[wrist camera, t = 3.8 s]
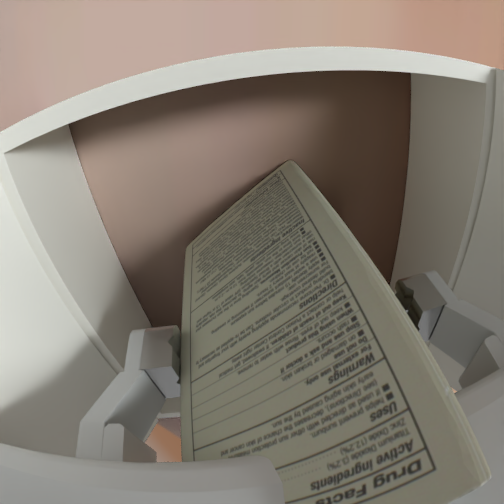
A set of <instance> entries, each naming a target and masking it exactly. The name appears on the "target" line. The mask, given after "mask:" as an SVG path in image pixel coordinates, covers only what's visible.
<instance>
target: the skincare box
mask: <svg viewBox="0 0 504 504" xmlns="http://www.w3.org/2000/svg"><path fill="white" fill-rule="evenodd" d="M180 402H181V407H180V415H181V450H182V451H181V452H182V462H188V461H204V460H216V459H226V458H235V457H243V456H251V455H258V456H264V457H266V458H268V459H269V460H270V461H271V462H272V464H273V466H274V468H275V470H276V472H277V474H278V475H279V477H280V479H281V481H282V483H283V491H284V499H285V504H449V503H451V502H453V501H455V500H457V499H459V498H461V497H463V496H464V495H466V494H468V493H470V492H472V491H474V490H476V489H478V488H480V487H481V486H483V485H484V484H485V483H486V482H487V481H489V480H490V479H491V471H490V468H489V466H488V464H487V461H486V459H485V456H484V454H483V452H482V450H481V447H480V445H479V443H478V441H477V439H476V436H475V434H474V432H473V430H472V428H471V426H470V424H469V422H468V420H467V418H466V416H465V414H464V412H463V410H462V408H461V406H460V404H459V402H458V400H457V398H456V396H455V394H454V392H453V391H452V389H451V387H450V385H449V383H448V381H447V380H446V378H445V376H444V374H443V372H442V371H441V369H440V367H439V365H438V364H437V362H436V360H435V359H434V357H433V355H432V353H431V352H430V350H429V348H428V347H427V345H426V343H425V342H424V340H423V338H422V337H421V335H420V334H419V332H418V330H417V329H416V327H415V325H414V324H413V322H412V321H411V319H410V317H409V316H408V314H407V313H406V311H405V309H404V308H403V306H402V305H401V303H400V301H399V300H398V298H397V297H396V295H395V294H394V292H393V291H392V289H391V288H390V286H389V285H388V283H387V282H386V280H385V279H384V277H383V276H382V274H381V273H380V272H379V270H378V269H377V267H376V266H375V264H374V263H373V262H372V260H371V259H370V257H369V256H368V255H367V253H366V252H365V250H364V249H363V248H362V246H361V245H360V244H359V242H358V241H357V239H356V238H355V237H354V235H353V234H352V232H351V231H350V230H349V228H348V227H347V225H346V224H345V223H344V222H343V220H342V219H341V218H340V216H339V215H338V214H337V212H336V211H335V210H334V209H333V207H332V206H331V205H330V203H329V202H328V201H327V200H326V198H325V197H324V196H323V195H322V193H321V192H320V191H319V190H318V189H317V187H316V186H315V185H314V184H313V182H312V181H311V180H310V179H309V178H308V176H307V175H306V174H305V173H304V172H303V171H302V169H301V168H300V167H299V166H298V165H297V164H296V163H295V162H294V161H292V160H290V161H287V162H285V163H284V164H283V165H281V166H280V167H279V168H277V169H276V170H275V171H274V172H272V173H271V174H270V175H269V176H267V177H266V178H265V179H263V180H262V181H261V182H260V183H259V184H257V185H256V186H255V187H254V188H253V189H251V190H250V191H249V192H248V193H246V194H245V195H244V196H243V197H242V198H241V199H240V200H238V201H237V202H236V203H235V204H234V205H232V206H231V207H230V208H229V209H228V210H227V211H225V212H224V213H223V214H222V215H221V216H220V217H218V218H217V219H216V220H215V221H214V222H213V223H212V224H210V225H209V226H208V227H207V228H206V229H205V230H204V231H203V232H202V233H201V234H200V235H199V236H198V237H197V238H195V239H194V240H193V241H192V242H191V243H190V244H189V245H188V246H187V248H186V253H185V268H184V286H183V305H182V330H181V381H180Z"/></svg>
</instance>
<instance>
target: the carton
mask: <svg viewBox="0 0 504 504" xmlns="http://www.w3.org/2000/svg"><path fill="white" fill-rule="evenodd" d="M330 70H372V71H395V72H409V73H411V123H410V144H409V159H408V171H407V181H406V191H405V199H404V207H403V214H402V221H401V228H400V234H399V240H398V246H397V252H396V257H395V263H394V268H393V273H392V278H391V282H390V288H391V289H392V291H393V292H394V294H396V293H397V292H396V290H395V284H396V282H397V281H398V280H399V279H402V278H406V277H410V276H413V275H417V274H422V273H424V272H428V271H432V270H435V271H436V272H437V273H438V274H439V275H440V276H441V278H442V279H443V280H444V281H445V283H446V284H447V285H448V287H449V288H450V289H451V290H452V292H453V293H454V294H455V296H456V297H457V298H458V300H461V299H463V300H464V301H466V302H468V303H470V304H472V305H474V306H476V307H478V308H480V309H482V310H484V311H486V312H488V313H490V314H492V315H494V316H495V317H497V318H499V319H501V320H503V321H504V70H500V69H497V68H493V67H489V66H486V65H482V64H478V63H473V62H469V61H465V60H460V59H455V58H450V57H445V56H439V55H433V54H426V53H419V52H412V51H403V50H393V49H382V48H366V47H298V48H282V49H270V50H260V51H251V52H243V53H235V54H229V55H222V56H216V57H210V58H205V59H200V60H195V61H190V62H185V63H180V64H176V65H172V66H168V67H164V68H160V69H156V70H152V71H148V72H145V73H141V74H138V75H134V76H131V77H128V78H124V79H121V80H118V81H115V82H112V83H109V84H106V85H103V86H100V87H98V88H95V89H92V90H90V91H87V92H84V93H82V94H79V95H77V96H74V97H72V98H69V99H67V100H64V101H62V102H60V103H57V104H55V105H53V106H51V107H49V108H46V109H44V110H42V111H40V112H38V113H36V114H34V115H32V116H30V117H28V118H26V119H24V120H22V121H20V122H18V123H16V124H14V125H12V126H10V127H9V128H7V129H5V130H3V131H1V132H0V442H1V443H4V444H8V445H12V446H16V447H20V448H25V449H29V450H34V451H39V452H44V453H50V454H56V455H62V456H69V457H76V450H77V442H78V434H79V427H80V421H81V420H82V419H83V417H84V416H85V415H86V414H87V412H88V411H89V410H90V409H91V407H92V406H93V405H94V404H95V402H96V401H97V400H98V399H99V397H100V396H101V395H102V394H103V392H104V391H105V390H106V389H107V387H108V386H109V385H110V384H111V382H112V381H113V380H114V379H115V377H116V376H117V375H118V374H119V373H120V372H124V367H125V361H126V354H127V348H128V342H129V336H130V333H131V332H132V330H138V329H146V328H153V327H152V325H151V324H150V322H149V320H148V318H147V316H146V314H145V312H144V310H143V309H142V307H141V305H140V303H139V301H138V299H137V297H136V295H135V293H134V291H133V289H132V287H131V285H130V283H129V281H128V278H127V276H126V274H125V272H124V270H123V268H122V266H121V264H120V261H119V259H118V257H117V255H116V253H115V250H114V248H113V246H112V244H111V241H110V239H109V237H108V234H107V232H106V230H105V227H104V225H103V222H102V220H101V217H100V215H99V212H98V210H97V207H96V205H95V202H94V200H93V197H92V194H91V192H90V189H89V186H88V184H87V181H86V178H85V175H84V172H83V169H82V167H81V164H80V161H79V158H78V155H77V152H76V148H75V145H74V142H73V139H72V136H71V132H70V129H69V126H68V124H69V123H72V122H74V121H77V120H79V119H82V118H85V117H88V116H90V115H93V114H96V113H99V112H102V111H105V110H108V109H111V108H114V107H117V106H120V105H124V104H127V103H130V102H134V101H137V100H141V99H144V98H148V97H152V96H155V95H159V94H163V93H167V92H171V91H176V90H180V89H185V88H189V87H194V86H199V85H204V84H209V83H215V82H220V81H226V80H233V79H239V78H246V77H254V76H262V75H271V74H281V73H293V72H307V71H330ZM425 343H426V345H427V347H428V348H429V350H430V352H431V353H432V355H433V357H434V359H435V360H436V362H437V364H438V365H439V367H440V369H441V371H442V372H443V374H444V376H445V378H446V380H447V381H448V383H449V385H450V387H452V388H453V389H455V390H456V391H457V392H458V391H460V390H462V387H461V385H460V383H459V378H460V376H461V375H462V373H463V372H464V370H465V369H466V368H464V367H463V366H462V365H460V364H459V363H458V362H456V361H455V360H454V359H452V358H451V357H450V356H448V355H447V354H445V353H444V352H443V351H441V350H440V349H439V348H437V347H436V346H434V345H433V344H432V343H430V342H429V341H426V342H425ZM180 407H181V402H180V397H175V398H166V401H165V403H164V405H163V406H162V408H161V410H160V412H159V413H158V415H157V417H156V419H155V420H154V422H153V424H152V426H151V427H150V429H149V431H148V433H147V434H146V436H145V438H144V440H143V442H144V443H145V441H146V440H147V438H148V437H149V435H150V433H151V432H152V430H153V429H154V427H155V425H156V424H157V422H158V421H159V420H158V419H157V418H172V417H181V415H180Z"/></svg>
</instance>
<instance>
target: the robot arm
mask: <svg viewBox="0 0 504 504" xmlns="http://www.w3.org/2000/svg"><path fill="white" fill-rule="evenodd" d="M395 290H396V292H397V293H396V294H395V295H396V297H397V298H398V300H399V301H400V303H401V305H402V306H403V308H404V309H405V311H406V313H407V314H408V316H409V317H410V319H411V321H412V322H413V324H414V325H415V327H416V329H417V330H418V332H419V334H420V335H421V337H422V338H423V340H424V342H426V341H429V342H430V343H432V344H433V345H434V346H436V347H437V348H439V349H440V350H441V351H443V352H444V353H445V354H447V355H448V356H450V357H451V358H452V359H454V360H455V361H456V362H458V363H459V364H460V365H462V366H463V367H464V368H466V369H465V370H464V372H463V373H462V375H461V376H460V378H459V383H460V385H461V387H462V390H460V391H458V392H456V393H454V394H455V396H456V398H457V400H458V402H459V404H460V406H461V408H462V410H463V412H464V414H465V416H466V418H467V420H468V422H469V424H470V426H471V428H472V430H473V432H474V434H475V436H476V439H477V441H478V443H479V445H480V447H481V450H482V452H483V454H484V456H485V459H486V461H487V464H488V466H489V468H490V471H491V479H490V480H489V481H487V482H486V483H485V484H484V485H483V486H481V487H480V488H478V489H476V490H474V491H472V492H470V493H468V494H466V495H464V496H463V497H461V498H459V499H457V500H455V501H453V502H451V503H449V504H504V321H503V320H501V319H499V318H497V317H495V316H494V315H492V314H490V313H488V312H486V311H484V310H482V309H480V308H478V307H476V306H474V305H472V304H470V303H468V302H466V301H464V300H463V299H461V300H458V298H457V297H456V296H455V294H454V293H453V292H452V290H451V289H450V288H449V287H448V285H447V284H446V283H445V281H444V280H443V279H442V278H441V276H440V275H439V274H438V273H437V272H436V271H435V270H432V271H428V272H424V273H422V274H417V275H413V276H410V277H406V278H402V279H399V280H398V281H397V282H396V284H395ZM180 381H181V338H180V331H179V329H178V327H177V325H172V326H163V327H155V328H146V329H138V330H132V332H131V333H130V336H129V342H128V348H127V354H126V361H125V367H124V372H120V373H119V374H118V375H117V376H116V377H115V379H114V380H113V381H112V382H111V384H110V385H109V386H108V387H107V389H106V390H105V391H104V392H103V394H102V395H101V396H100V397H99V399H98V400H97V401H96V402H95V404H94V405H93V406H92V407H91V409H90V410H89V411H88V412H87V414H86V415H85V416H84V417H83V419H82V420H81V421H80V427H79V434H78V442H77V450H76V457H69V456H62V455H56V454H50V453H44V452H39V451H34V450H29V449H25V448H20V447H16V446H12V445H8V444H4V443H1V442H0V504H285V499H284V491H283V483H282V481H281V479H280V477H279V475H278V474H277V472H276V470H275V468H274V466H273V464H272V462H271V461H270V460H269V459H268V458H266V457H264V456H258V455H251V456H243V457H235V458H226V459H216V460H204V461H188V462H156V452H155V451H154V450H153V449H152V448H151V447H149V446H148V445H147V444H145V443H144V442H143V440H144V438H145V436H146V434H147V433H148V431H149V429H150V427H151V426H152V424H153V422H154V420H155V419H156V417H157V415H158V413H159V412H160V410H161V408H162V406H163V405H164V403H165V401H166V398H175V397H180Z"/></svg>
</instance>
